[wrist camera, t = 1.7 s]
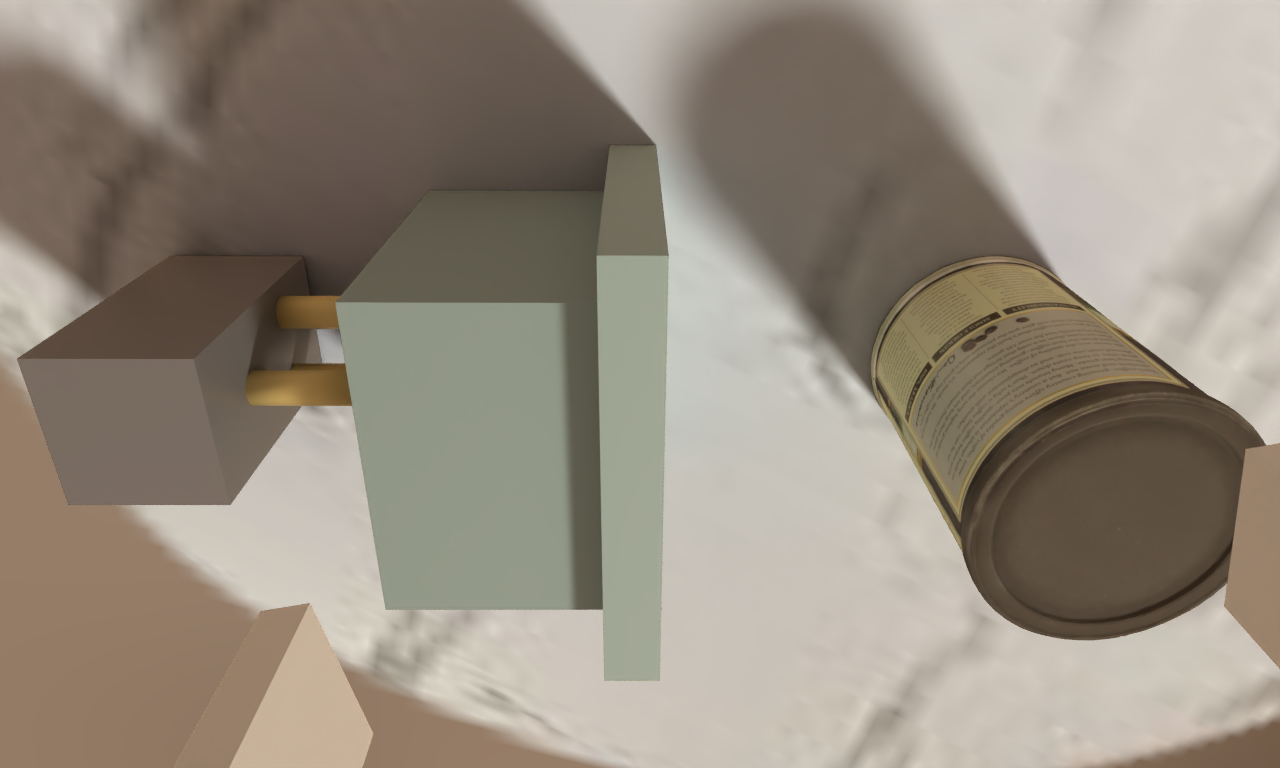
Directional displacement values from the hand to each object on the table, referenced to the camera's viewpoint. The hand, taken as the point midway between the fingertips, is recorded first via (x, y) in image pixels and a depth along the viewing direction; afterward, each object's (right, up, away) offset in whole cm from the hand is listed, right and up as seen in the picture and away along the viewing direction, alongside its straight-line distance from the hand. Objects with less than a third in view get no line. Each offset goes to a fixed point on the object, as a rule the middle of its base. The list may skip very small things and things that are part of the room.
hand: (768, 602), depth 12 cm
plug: (-18, +6, +28) cm, 34 cm away
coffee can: (+14, +5, +30) cm, 33 cm away
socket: (-6, +6, +29) cm, 30 cm away
